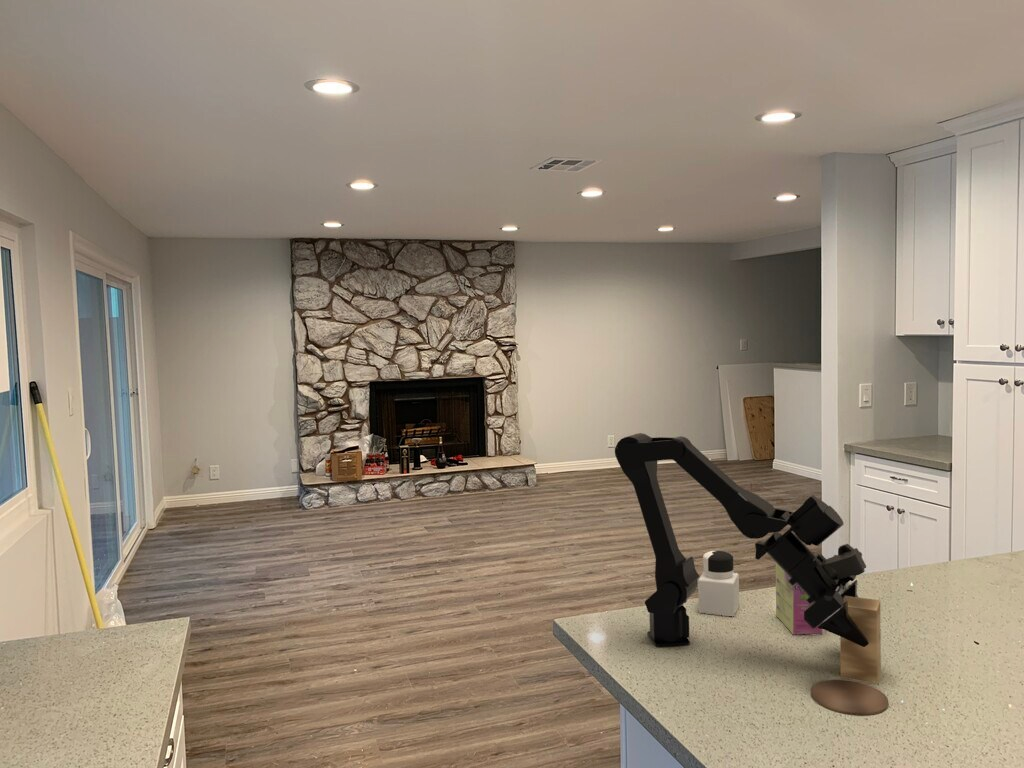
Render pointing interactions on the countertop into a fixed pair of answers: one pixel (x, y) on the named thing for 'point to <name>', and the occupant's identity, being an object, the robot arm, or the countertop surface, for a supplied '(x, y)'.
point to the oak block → (868, 619)
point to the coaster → (849, 697)
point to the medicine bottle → (718, 585)
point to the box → (792, 605)
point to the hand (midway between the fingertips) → (869, 636)
